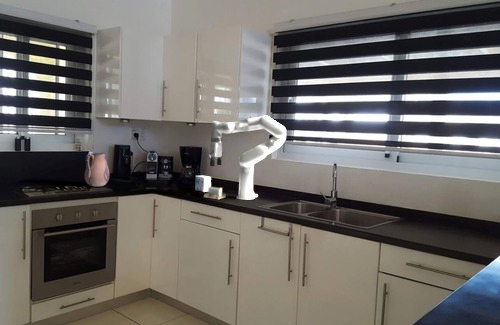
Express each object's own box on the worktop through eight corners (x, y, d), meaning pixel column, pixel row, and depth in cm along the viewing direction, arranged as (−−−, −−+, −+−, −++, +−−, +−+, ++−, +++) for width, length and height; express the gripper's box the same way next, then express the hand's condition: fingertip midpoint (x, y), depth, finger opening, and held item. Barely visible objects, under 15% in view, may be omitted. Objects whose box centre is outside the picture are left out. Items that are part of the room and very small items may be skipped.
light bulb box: (194, 189, 309) (195, 175, 308) (201, 189, 313) (202, 175, 312) (203, 192, 301) (204, 177, 300) (210, 191, 306) (211, 176, 305)
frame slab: (221, 195, 281) (222, 187, 281) (219, 196, 278) (219, 188, 278) (210, 194, 285) (210, 186, 285) (207, 195, 282) (208, 187, 282)
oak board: (225, 197, 284) (225, 193, 284) (218, 199, 275) (218, 195, 275) (211, 195, 289) (212, 191, 288) (204, 197, 280) (204, 193, 279)
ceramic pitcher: (113, 184, 317) (113, 152, 315) (100, 188, 296) (100, 154, 294) (91, 183, 319) (91, 151, 317) (77, 187, 298) (77, 153, 296)
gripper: (217, 140, 290) (217, 164, 292) (205, 140, 274) (204, 166, 276) (227, 140, 287) (226, 164, 288) (215, 141, 271) (214, 167, 273)
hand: (215, 165), depth 282 cm, fingers open, 9 cm apart
